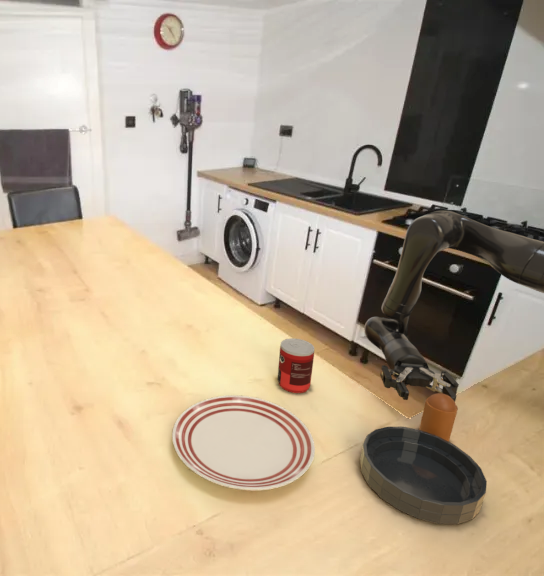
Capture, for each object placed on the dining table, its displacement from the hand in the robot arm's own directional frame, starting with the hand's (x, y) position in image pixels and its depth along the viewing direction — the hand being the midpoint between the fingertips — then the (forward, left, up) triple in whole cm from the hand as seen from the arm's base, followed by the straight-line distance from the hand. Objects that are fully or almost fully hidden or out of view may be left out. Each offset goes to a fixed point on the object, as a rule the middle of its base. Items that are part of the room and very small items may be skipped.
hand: (429, 398), depth 85 cm
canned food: (+24, -14, -6) cm, 28 cm away
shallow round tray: (+10, +16, -6) cm, 20 cm away
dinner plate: (+40, +8, -6) cm, 41 cm away
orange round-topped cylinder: (+1, +5, -6) cm, 8 cm away
